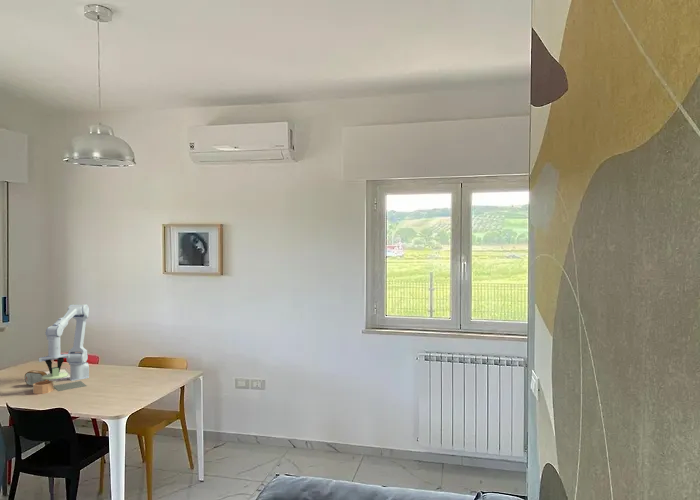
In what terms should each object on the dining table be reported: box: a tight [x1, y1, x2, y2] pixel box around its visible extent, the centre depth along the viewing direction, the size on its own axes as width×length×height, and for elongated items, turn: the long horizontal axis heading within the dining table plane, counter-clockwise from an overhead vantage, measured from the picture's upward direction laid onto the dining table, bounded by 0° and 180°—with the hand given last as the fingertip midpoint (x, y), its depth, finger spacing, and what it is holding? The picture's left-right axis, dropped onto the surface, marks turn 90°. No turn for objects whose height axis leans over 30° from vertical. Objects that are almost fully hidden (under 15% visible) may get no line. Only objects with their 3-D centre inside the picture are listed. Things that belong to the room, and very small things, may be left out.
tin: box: [24, 370, 50, 387], centre depth 270 cm, size 15×3×8 cm, turn 74°
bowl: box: [32, 380, 54, 395], centre depth 258 cm, size 9×9×5 cm
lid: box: [42, 366, 69, 381], centre depth 262 cm, size 12×12×5 cm
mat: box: [53, 380, 87, 392], centre depth 268 cm, size 14×14×1 cm
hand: (54, 372), depth 262 cm, fingers closed on lid, 3 cm apart
